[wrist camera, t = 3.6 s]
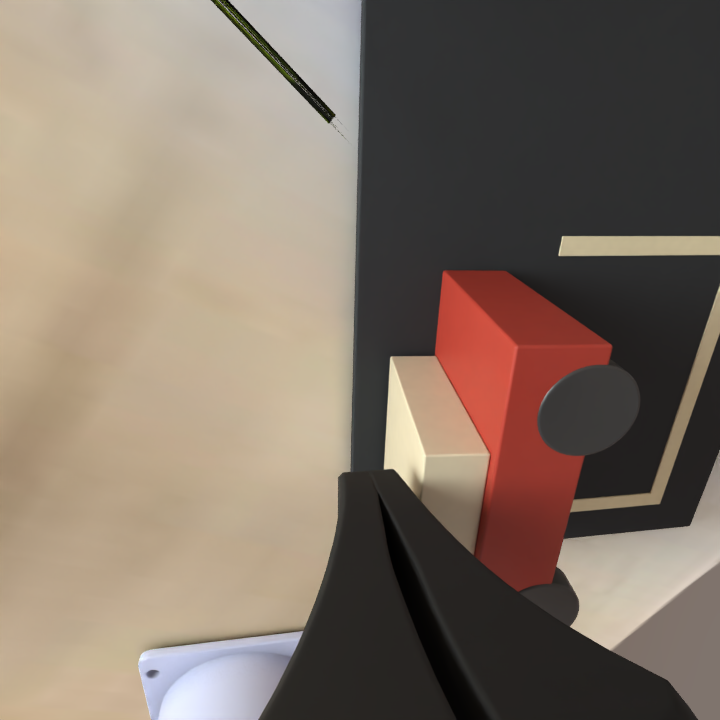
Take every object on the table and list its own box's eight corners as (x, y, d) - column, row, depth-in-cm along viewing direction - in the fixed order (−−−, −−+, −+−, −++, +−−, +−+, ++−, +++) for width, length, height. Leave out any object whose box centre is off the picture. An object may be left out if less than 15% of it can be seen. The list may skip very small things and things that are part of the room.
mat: (681, 518, 22) (691, 527, 21) (348, 551, 20) (350, 562, 19) (893, -41, 14) (918, -47, 13) (363, -95, 11) (367, -106, 11)
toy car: (493, 501, 19) (567, 652, 13) (380, 505, 18) (407, 662, 13) (534, 269, 15) (660, 346, 10) (393, 269, 15) (440, 347, 9)
